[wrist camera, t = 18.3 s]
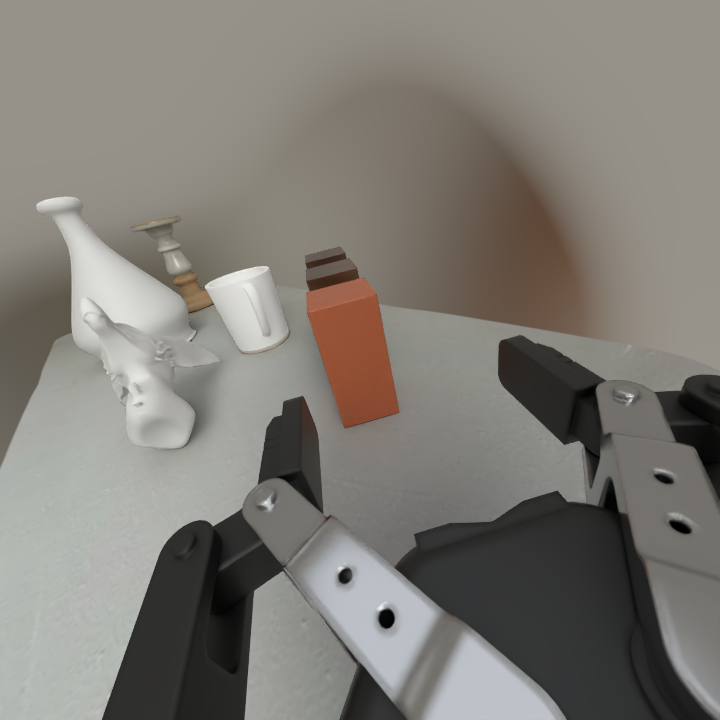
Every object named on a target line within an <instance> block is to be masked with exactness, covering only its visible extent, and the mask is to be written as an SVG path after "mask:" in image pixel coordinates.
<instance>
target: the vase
mask: <svg viewBox="0 0 720 720" xmlns="http://www.w3.org/2000/svg"><path fill="white" fill-rule="evenodd" d="M36 208H37V210H38V211H39V213H41V214H42V215H44V216H47V217H49V218H51V219H52V220H53V221H54V222H55V223H56V224H57V226H58V227H59V229H60V231H61V233H62V235H63V236H64V239H65V241H66V243H67V245H68V249H69V253H70V259H71V271H72V334H73V338H74V341H75V343H76V344H77V346H78V347H79V348H81V349H82V350H84V351H85V352H87V353H89V354H91V355H93V356H95V357H97V358H99V359H100V360H102V359H101V351H102V345H101V342H100V339H99V337H98V335H97V334H96V333H95V332H94V331H93V330H92V329H91V328H90V327H89V326H88V324H87V323H85V322H84V321H83V320H82V319H81V316H80V302H81V299H82V298H84V297H87V298H90V299H92V300H93V301H94V302H95V303H96V304H97V305H98V306H99V307H100V308H101V309H102V310H103V311H104V312H105V313H106V314H107V315H108V317H109V318H110V319H111V320H112V321H113V322H114V323H123V324H127V325H130V326H132V327H134V328H136V329H138V330H140V331H142V332H144V333H146V334H150V335H162V336H169V337H176V338H180V339H183V340H186V341H190V340H191V339H192V338H193V337H194V336H195V334H196V331H195V330H194V329H192V328H190V325H189V311H188V306H187V304H186V302H185V301H184V299H183V298H182V297H180V296H179V295H178V294H177V293H175V292H174V291H173V290H171V289H170V288H168V287H167V286H165V285H164V284H162V283H161V282H159V281H158V280H156V279H155V278H153V277H151V276H150V275H148V274H147V273H145V272H144V271H142V270H141V269H139V268H138V267H136V266H135V265H133V264H132V263H130V262H128V261H127V260H126V259H124V258H123V257H121V256H120V255H119V254H117V253H116V252H114V251H113V250H112V249H111V248H109V247H108V246H107V245H106V244H104V243H103V242H102V241H101V240H100V239H99V238H98V237H97V236H96V235H95V234H94V232H93V231H92V230H91V229H90V227H89V226H88V225H87V223H86V222H85V220H84V219H83V217H82V215H81V210H82V208H83V204H82V202H81V201H80V200H79V199H77V198H75V197H57V198H52V199H47V200H44V201H42V202H40V203H38V204H37V206H36ZM104 369H105V368H104ZM105 370H106V369H105ZM106 371H107V370H106Z"/></svg>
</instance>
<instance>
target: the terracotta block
mask: <svg viewBox="0 0 720 720" xmlns="http://www.w3.org/2000/svg"><path fill="white" fill-rule="evenodd" d="M306 296H307V314H308V317H309V320H310V323H311V326H312V329H313V332H314V335H315V338H316V341H317V344H318V348H319V351H320V354H321V357H322V360H323V363H324V366H325V369H326V372H327V375H328V378H329V381H330V384H331V388H332V391H333V394H334V397H335V400H336V403H337V406H338V409H339V412H340V415H341V418H342V421H343V424H344V427H345V428H347V427H350V426H354V425H357V424H361V423H364V422H368V421H371V420H375V419H378V418H382V417H385V416H389V415H392V414H396V413H399V408H398V402H397V397H396V392H395V387H394V382H393V376H392V371H391V366H390V361H389V355H388V350H387V345H386V340H385V334H384V329H383V324H382V319H381V313H380V308H379V303H378V298H377V294H376V293H375V291H374V290H373V289H372V288H371V286H370V285H369V284H368V282H367V281H366V280H365V279H364V278H359V279H356V280H352V281H348V282H344V283H340V284H337V285H333V286H329V287H325V288H322V289H318V290H314V291H310V292H307V293H306Z"/></svg>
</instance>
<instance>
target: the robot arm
mask: <svg viewBox="0 0 720 720" xmlns="http://www.w3.org/2000/svg"><path fill="white" fill-rule="evenodd" d="M498 376H499V379H500V382H501V384H502V385H503V387H504V388H505V389H506V390H507V391H508V392H509V393H510V394H511V395H513V396H514V397H515V398H516V399H517V400H518V401H519V402H520V403H521V404H522V405H523V406H524V407H525V408H526V409H527V410H528V411H529V412H530V413H531V414H533V415H534V416H535V417H536V418H537V419H538V420H539V421H540V422H541V423H542V424H543V425H544V426H545V427H546V428H547V429H548V430H549V431H550V432H551V433H553V434H554V435H555V436H556V437H557V438H558V439H559V440H560V441H561V442H562V443H563V444H564V445H566V444H569V443H573V442H576V441H580V442H581V443H582V444H583V447H582V460H583V469H584V479H585V488H586V503H578V502H567V501H566V500H565V499H564V498H563V496H562V495H561V494H560V493H559V492H558V491H555V492H551V493H548V494H545V495H541V496H538V497H535V498H532V499H528V500H525V501H522V502H521V503H519V504H518V505H516V506H515V507H513V508H512V509H510V510H509V511H508V512H506V513H505V514H503V515H502V516H500V517H499V518H497V519H496V520H494V521H491V522H476V523H449V524H446V525H443V526H439V527H436V528H433V529H429V530H426V531H423V532H420V533H416V534H414V536H415V540H416V545H417V546H416V547H415V548H413V549H412V550H410V551H409V552H408V553H407V554H406V555H405V556H404V557H403V558H402V559H401V560H400V561H399V562H398V563H397V565H396V566H395V568H394V567H393V566H391V565H390V564H389V563H388V562H387V561H386V560H385V559H383V558H382V557H381V556H380V555H379V554H378V553H376V552H375V551H374V550H373V549H372V548H371V547H369V546H368V545H367V544H366V543H365V542H364V541H362V540H361V539H360V538H359V537H358V536H357V535H356V534H354V533H353V532H352V531H351V530H350V529H349V528H347V527H346V526H345V525H344V524H343V523H342V522H340V521H339V520H338V519H337V518H335V517H334V516H332V515H330V516H329V517H326V516H324V515H323V500H322V484H321V469H320V453H319V439H318V433H317V429H316V426H315V423H314V421H313V418H312V416H311V413H310V411H309V408H308V406H307V403H306V401H305V399H304V397H303V396H301V397H297V398H293V399H290V400H286V401H284V402H283V411H282V415H281V416H277V417H274V418H273V419H272V421H271V422H270V424H269V425H268V427H267V430H266V436H265V442H264V450H263V455H262V461H261V468H260V474H259V481H258V485H257V486H256V487H255V488H253V489H252V490H251V492H250V493H249V494H248V496H247V497H246V499H245V501H244V504H243V508H242V509H241V510H239V511H238V512H237V513H235V514H233V515H232V516H230V517H228V518H227V519H225V520H223V521H222V522H220V523H218V524H217V525H215V526H212V525H211V524H210V523H209V522H207V521H204V520H199V521H194V522H191V523H189V524H187V525H185V526H183V527H182V528H181V529H179V530H178V531H177V532H176V533H174V534H173V535H172V536H171V538H170V539H169V540H168V541H167V542H166V544H165V545H164V547H163V549H162V550H161V552H160V555H159V557H158V560H157V563H156V566H155V569H154V572H153V575H152V577H151V580H150V583H149V586H148V589H147V592H146V595H145V598H144V600H143V603H142V606H141V609H140V612H139V615H138V618H137V620H136V623H135V626H134V629H133V632H132V635H131V638H130V641H129V643H128V646H127V649H126V652H125V655H124V658H123V661H122V663H121V666H120V669H119V672H118V675H117V678H116V681H115V684H114V686H113V689H112V692H111V695H110V698H109V701H108V704H107V706H106V709H105V712H104V715H103V718H102V720H244V719H245V705H246V691H247V678H248V664H249V651H250V637H251V623H252V610H253V596H254V590H256V589H257V588H259V587H260V586H261V585H263V584H264V583H266V582H267V581H269V580H270V579H272V578H273V577H274V576H276V575H277V574H279V573H280V572H282V571H283V572H284V573H285V575H286V576H287V577H288V578H289V580H290V581H291V582H292V583H293V585H294V586H295V587H296V589H297V590H298V591H299V592H300V594H301V595H302V596H303V597H304V599H305V600H306V601H307V603H308V604H309V605H310V606H311V608H312V609H313V610H314V612H315V613H316V614H317V615H318V617H319V618H320V619H321V621H322V622H323V623H324V625H325V626H326V627H327V629H328V630H329V631H330V633H331V634H332V635H333V636H334V638H335V639H336V640H337V642H338V643H339V644H340V645H341V647H342V648H343V649H344V651H345V652H346V653H347V654H348V656H349V657H350V658H351V660H352V661H353V662H354V663H355V665H356V666H357V669H356V672H355V675H354V678H353V681H352V684H351V687H350V690H349V693H348V696H347V699H346V702H345V705H344V708H343V711H342V713H341V716H340V719H339V720H720V376H717V375H696V376H692V377H689V378H687V379H686V380H685V383H684V385H683V387H682V390H681V391H667V392H653V391H652V390H650V389H649V388H647V387H645V386H643V385H640V384H638V383H634V382H630V381H624V380H610V381H606V380H604V379H603V378H601V377H599V376H598V375H596V374H594V373H593V372H591V371H590V370H588V369H586V368H585V367H583V366H581V365H580V364H578V363H576V362H573V360H571V359H570V358H568V357H566V356H563V354H562V353H560V352H558V351H557V350H555V349H553V348H551V347H548V346H545V345H541V344H538V343H537V344H535V343H533V342H532V341H530V340H529V339H527V338H526V337H524V336H522V335H519V336H516V337H512V338H508V339H505V340H502V341H500V343H499V357H498Z"/></svg>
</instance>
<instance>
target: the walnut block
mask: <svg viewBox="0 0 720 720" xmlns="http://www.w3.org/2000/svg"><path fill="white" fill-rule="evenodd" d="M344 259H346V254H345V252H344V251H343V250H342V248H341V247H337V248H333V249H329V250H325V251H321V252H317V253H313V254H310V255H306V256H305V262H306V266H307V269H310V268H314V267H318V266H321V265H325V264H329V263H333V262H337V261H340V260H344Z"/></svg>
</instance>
